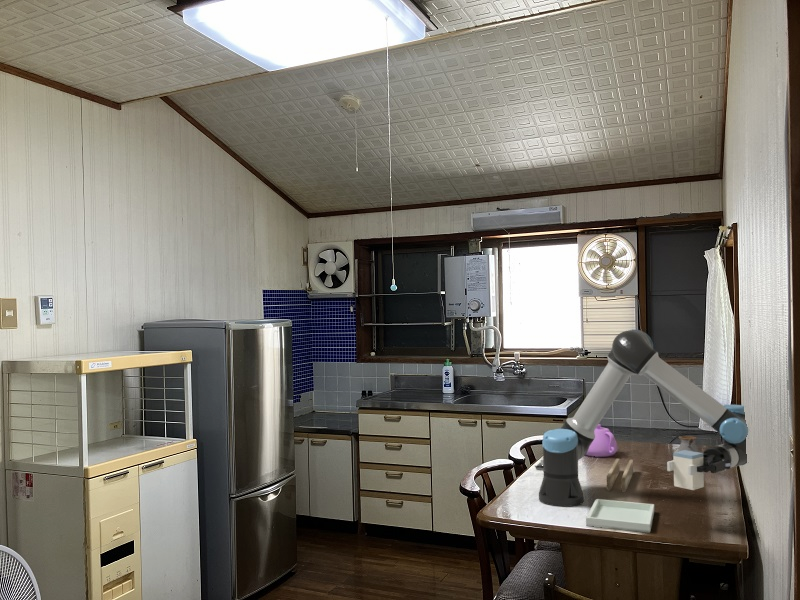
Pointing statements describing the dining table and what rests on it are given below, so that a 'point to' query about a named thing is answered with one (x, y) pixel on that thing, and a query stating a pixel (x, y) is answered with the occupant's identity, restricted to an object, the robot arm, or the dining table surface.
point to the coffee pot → (688, 444)
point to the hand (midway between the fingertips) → (678, 468)
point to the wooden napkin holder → (614, 473)
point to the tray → (621, 515)
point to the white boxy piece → (681, 470)
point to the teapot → (602, 443)
